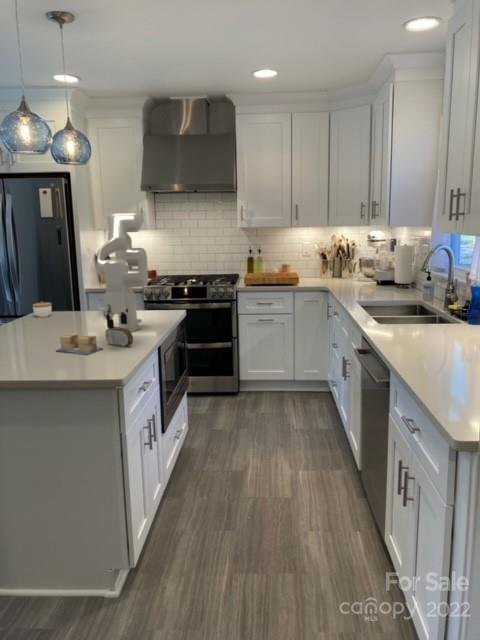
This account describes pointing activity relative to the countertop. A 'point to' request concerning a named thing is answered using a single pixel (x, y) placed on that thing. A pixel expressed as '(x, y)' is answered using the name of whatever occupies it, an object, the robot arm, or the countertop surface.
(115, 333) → the tin
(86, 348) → the bridge base
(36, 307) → the lidded jar
